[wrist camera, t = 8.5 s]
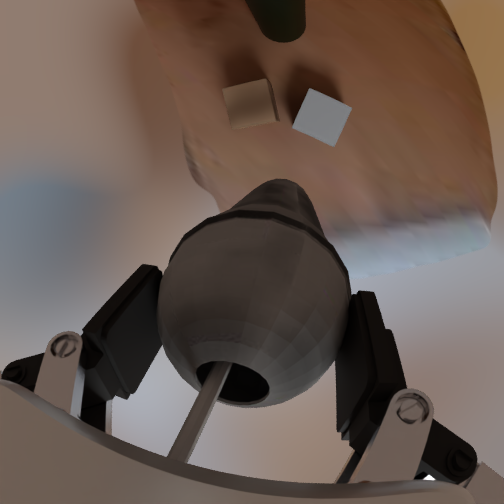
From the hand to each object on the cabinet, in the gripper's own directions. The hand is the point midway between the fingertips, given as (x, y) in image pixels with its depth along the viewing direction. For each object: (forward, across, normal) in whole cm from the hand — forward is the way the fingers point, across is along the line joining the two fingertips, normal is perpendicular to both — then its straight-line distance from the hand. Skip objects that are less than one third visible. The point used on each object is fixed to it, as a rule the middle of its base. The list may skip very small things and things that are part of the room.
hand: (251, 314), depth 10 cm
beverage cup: (+12, 0, 0) cm, 12 cm away
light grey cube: (+28, -3, -7) cm, 29 cm away
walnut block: (+28, +5, -8) cm, 30 cm away
